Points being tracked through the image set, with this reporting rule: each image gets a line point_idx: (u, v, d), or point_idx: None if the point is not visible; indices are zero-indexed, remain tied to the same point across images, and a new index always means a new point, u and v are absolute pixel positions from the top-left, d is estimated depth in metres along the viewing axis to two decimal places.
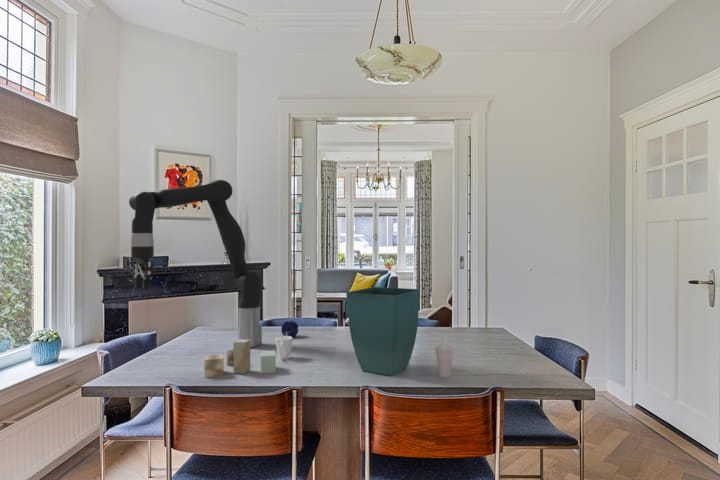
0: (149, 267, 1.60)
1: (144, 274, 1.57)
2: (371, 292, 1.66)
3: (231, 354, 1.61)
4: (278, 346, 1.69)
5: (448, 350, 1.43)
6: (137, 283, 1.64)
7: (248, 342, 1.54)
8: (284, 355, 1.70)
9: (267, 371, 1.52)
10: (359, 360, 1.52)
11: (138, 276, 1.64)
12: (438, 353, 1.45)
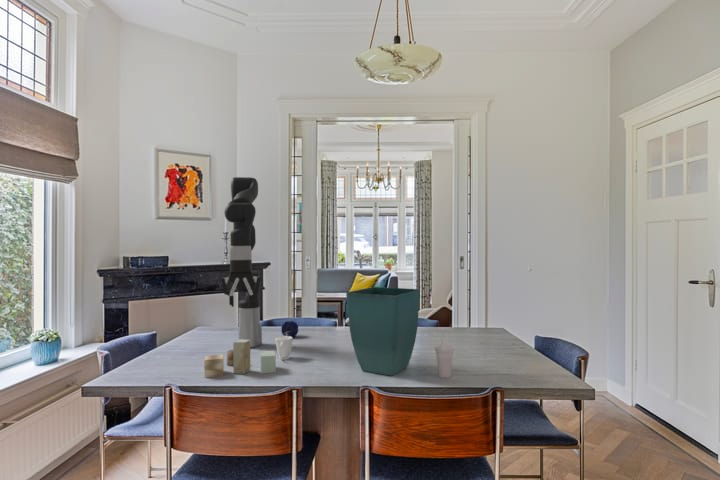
0: (233, 283, 1.52)
1: None
2: (371, 292, 1.66)
3: (231, 354, 1.61)
4: (278, 346, 1.69)
5: (448, 350, 1.43)
6: None
7: (248, 342, 1.54)
8: (284, 355, 1.70)
9: (267, 371, 1.52)
10: (359, 360, 1.52)
11: None
12: (438, 353, 1.45)
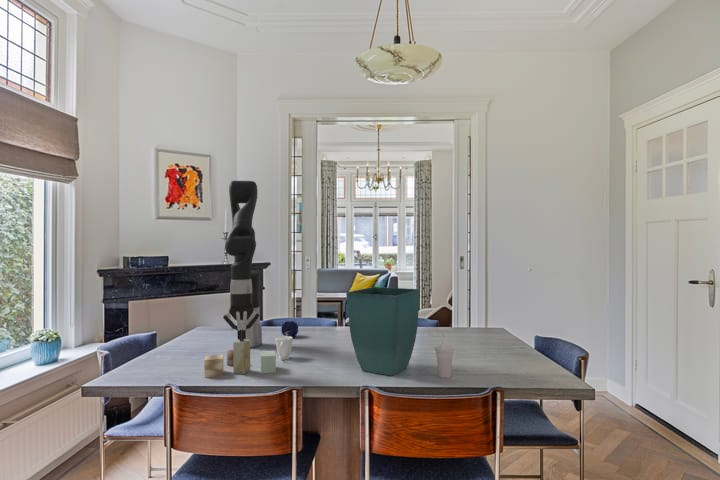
0: (236, 317, 1.52)
1: (237, 325, 1.54)
2: (371, 292, 1.66)
3: (231, 354, 1.61)
4: (278, 346, 1.69)
5: (448, 350, 1.43)
6: None
7: (248, 342, 1.54)
8: (284, 355, 1.70)
9: (267, 371, 1.52)
10: (359, 360, 1.52)
11: (242, 326, 1.54)
12: (438, 353, 1.45)
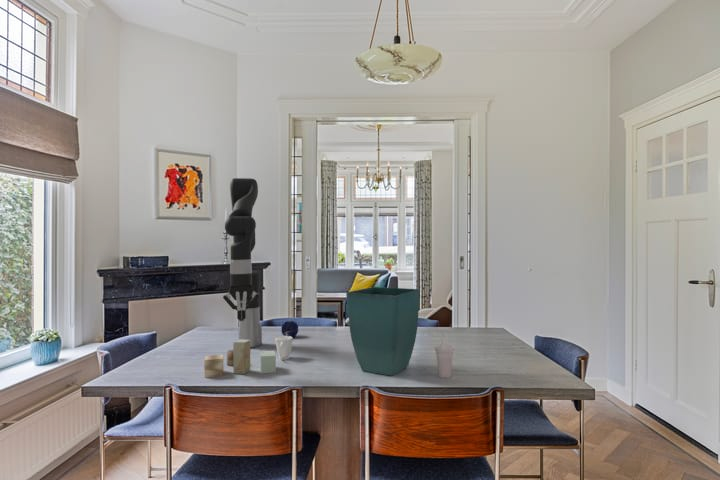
0: (236, 297, 1.52)
1: None
2: (371, 292, 1.66)
3: (231, 354, 1.61)
4: (278, 346, 1.69)
5: (448, 350, 1.43)
6: None
7: (248, 342, 1.54)
8: (284, 355, 1.70)
9: (267, 371, 1.52)
10: (359, 360, 1.52)
11: None
12: (438, 353, 1.45)
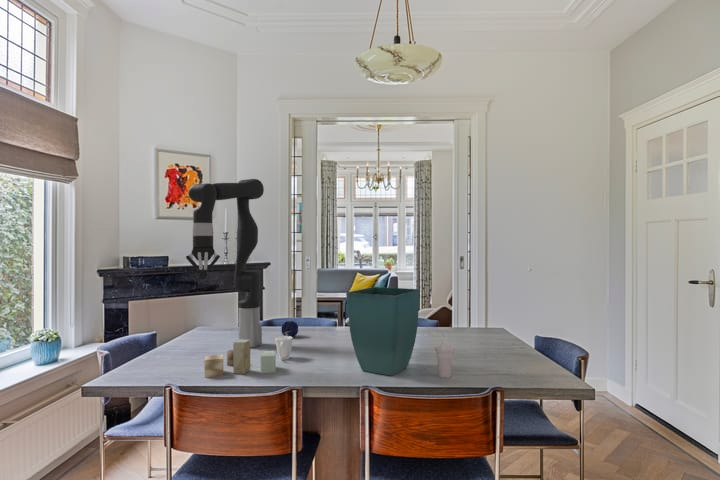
0: (198, 258, 1.66)
1: None
2: (371, 292, 1.66)
3: (231, 354, 1.61)
4: (278, 346, 1.69)
5: (448, 350, 1.43)
6: None
7: (248, 342, 1.54)
8: (284, 355, 1.70)
9: (267, 371, 1.52)
10: (359, 360, 1.52)
11: None
12: (438, 353, 1.45)
